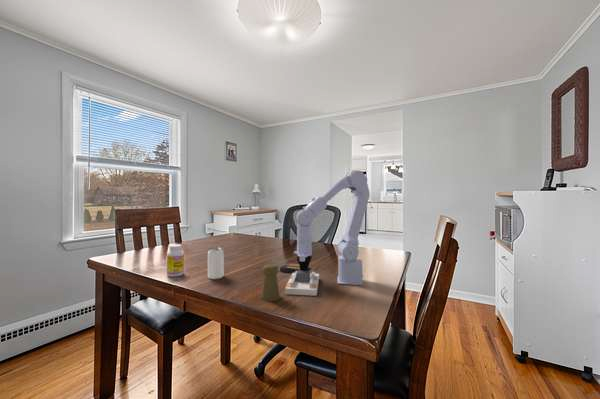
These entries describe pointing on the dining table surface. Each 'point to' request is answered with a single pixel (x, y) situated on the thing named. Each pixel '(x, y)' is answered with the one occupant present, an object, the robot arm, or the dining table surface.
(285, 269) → the ammunition clip
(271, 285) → the green chess rook
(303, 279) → the switch tab
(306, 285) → the switch board
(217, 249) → the can
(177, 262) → the supplement bottle
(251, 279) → the dining table surface
